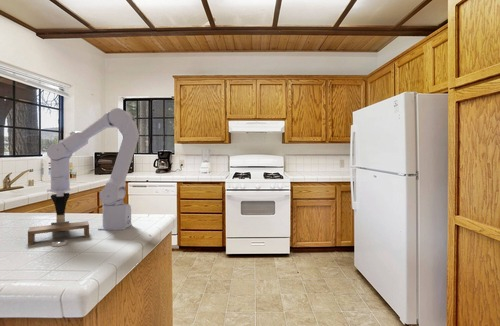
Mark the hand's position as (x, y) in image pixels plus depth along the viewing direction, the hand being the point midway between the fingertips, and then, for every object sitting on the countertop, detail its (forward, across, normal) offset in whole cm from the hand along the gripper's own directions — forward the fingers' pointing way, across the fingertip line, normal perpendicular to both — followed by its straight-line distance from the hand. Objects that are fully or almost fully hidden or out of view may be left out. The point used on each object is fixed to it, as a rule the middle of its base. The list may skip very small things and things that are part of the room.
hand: (60, 213), depth 104 cm
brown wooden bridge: (+5, +15, 0) cm, 16 cm away
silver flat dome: (+6, +22, 0) cm, 23 cm away
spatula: (+3, +6, 0) cm, 7 cm away
